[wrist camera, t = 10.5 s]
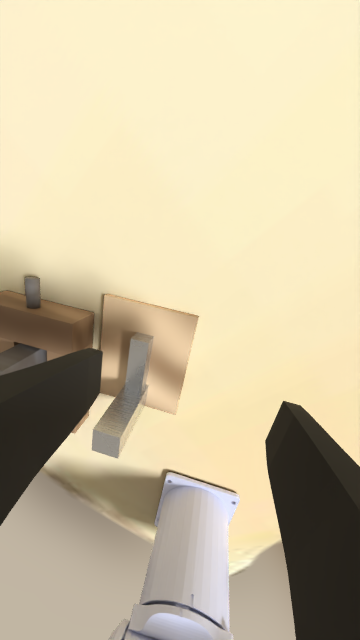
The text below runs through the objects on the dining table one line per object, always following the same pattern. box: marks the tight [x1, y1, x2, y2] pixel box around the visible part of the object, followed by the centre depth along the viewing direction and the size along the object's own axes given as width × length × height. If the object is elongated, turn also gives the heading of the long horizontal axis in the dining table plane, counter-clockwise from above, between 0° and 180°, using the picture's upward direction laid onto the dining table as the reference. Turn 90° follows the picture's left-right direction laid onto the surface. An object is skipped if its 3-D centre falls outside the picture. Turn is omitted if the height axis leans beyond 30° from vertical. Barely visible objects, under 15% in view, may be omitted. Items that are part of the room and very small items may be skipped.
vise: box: [0, 277, 94, 433], centre depth 19 cm, size 14×9×6 cm, turn 169°
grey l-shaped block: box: [92, 332, 154, 458], centre depth 17 cm, size 7×2×6 cm, turn 169°
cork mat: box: [100, 294, 199, 415], centre depth 20 cm, size 10×8×1 cm
